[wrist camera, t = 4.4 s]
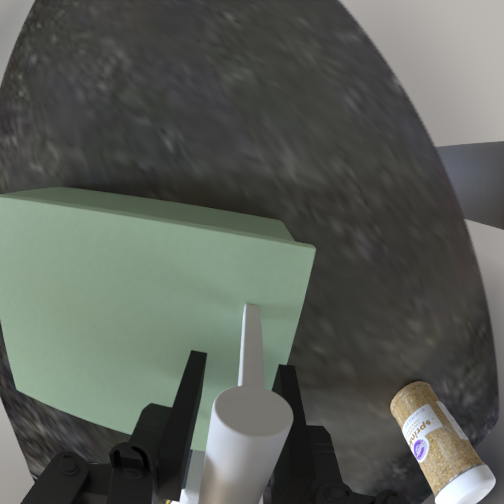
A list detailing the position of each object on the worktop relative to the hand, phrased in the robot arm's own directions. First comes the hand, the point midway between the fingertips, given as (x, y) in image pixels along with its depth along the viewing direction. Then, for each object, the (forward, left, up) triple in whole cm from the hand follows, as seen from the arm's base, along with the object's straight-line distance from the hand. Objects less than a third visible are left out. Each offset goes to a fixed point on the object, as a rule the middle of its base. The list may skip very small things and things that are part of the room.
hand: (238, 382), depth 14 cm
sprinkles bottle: (-17, +7, -9) cm, 20 cm away
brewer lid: (+6, 0, -2) cm, 7 cm away
